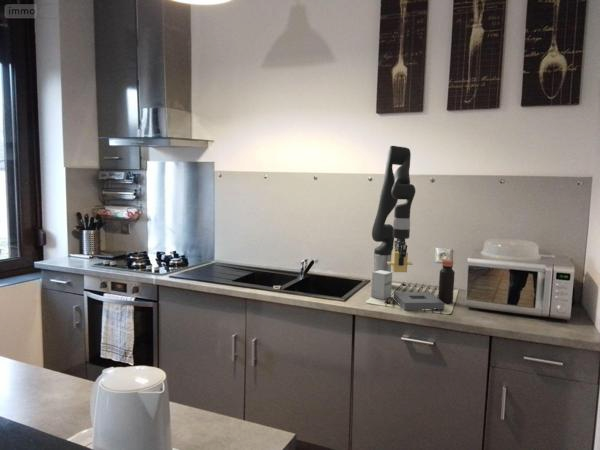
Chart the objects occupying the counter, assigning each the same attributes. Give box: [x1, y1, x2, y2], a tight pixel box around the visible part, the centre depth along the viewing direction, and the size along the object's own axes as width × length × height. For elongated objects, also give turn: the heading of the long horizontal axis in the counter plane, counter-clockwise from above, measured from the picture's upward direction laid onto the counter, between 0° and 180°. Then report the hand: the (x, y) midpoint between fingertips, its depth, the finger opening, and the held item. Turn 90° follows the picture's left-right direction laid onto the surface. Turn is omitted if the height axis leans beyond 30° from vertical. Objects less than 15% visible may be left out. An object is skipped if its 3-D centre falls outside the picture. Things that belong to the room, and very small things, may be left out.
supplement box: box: [370, 270, 393, 300], centre depth 231 cm, size 7×7×13 cm
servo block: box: [387, 250, 414, 273], centre depth 216 cm, size 4×11×10 cm, turn 93°
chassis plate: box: [393, 291, 445, 311], centre depth 219 cm, size 18×18×4 cm
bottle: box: [437, 259, 456, 305], centre depth 224 cm, size 7×7×20 cm
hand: (399, 264), depth 217 cm, fingers closed on servo block, 4 cm apart
